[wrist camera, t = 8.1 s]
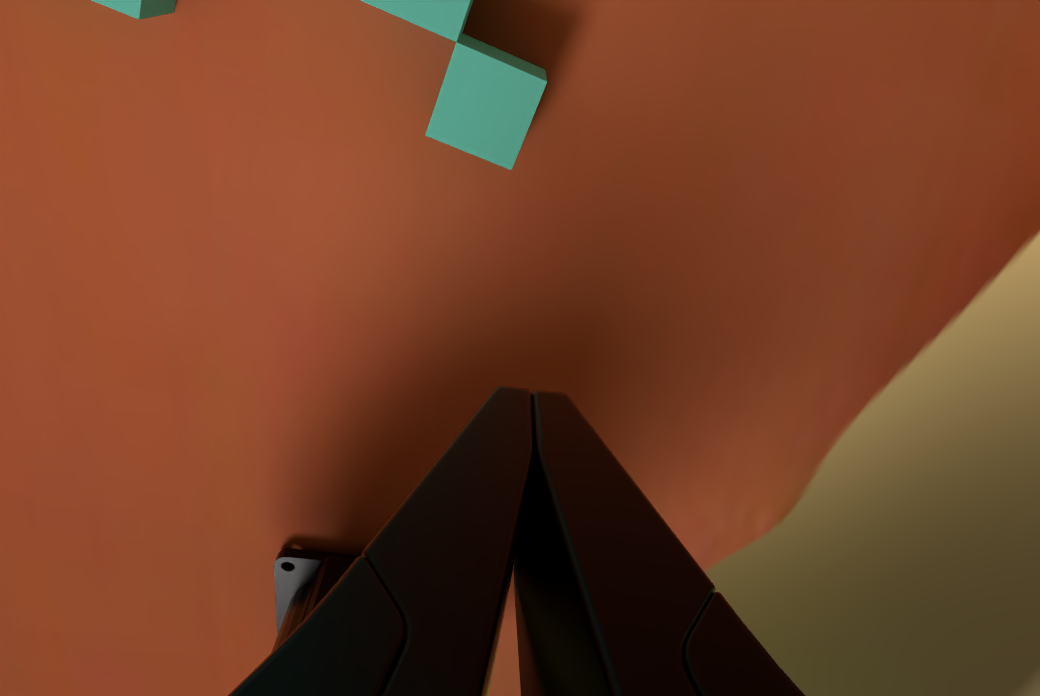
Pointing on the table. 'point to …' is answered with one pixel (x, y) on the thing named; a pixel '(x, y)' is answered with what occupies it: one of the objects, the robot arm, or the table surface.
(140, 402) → the table surface
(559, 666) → the robot arm
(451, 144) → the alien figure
